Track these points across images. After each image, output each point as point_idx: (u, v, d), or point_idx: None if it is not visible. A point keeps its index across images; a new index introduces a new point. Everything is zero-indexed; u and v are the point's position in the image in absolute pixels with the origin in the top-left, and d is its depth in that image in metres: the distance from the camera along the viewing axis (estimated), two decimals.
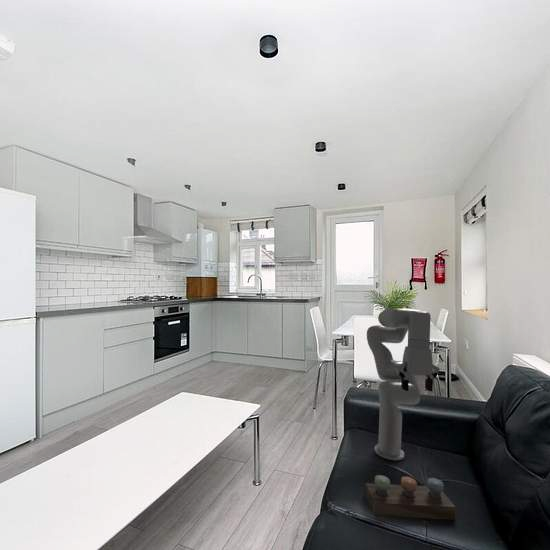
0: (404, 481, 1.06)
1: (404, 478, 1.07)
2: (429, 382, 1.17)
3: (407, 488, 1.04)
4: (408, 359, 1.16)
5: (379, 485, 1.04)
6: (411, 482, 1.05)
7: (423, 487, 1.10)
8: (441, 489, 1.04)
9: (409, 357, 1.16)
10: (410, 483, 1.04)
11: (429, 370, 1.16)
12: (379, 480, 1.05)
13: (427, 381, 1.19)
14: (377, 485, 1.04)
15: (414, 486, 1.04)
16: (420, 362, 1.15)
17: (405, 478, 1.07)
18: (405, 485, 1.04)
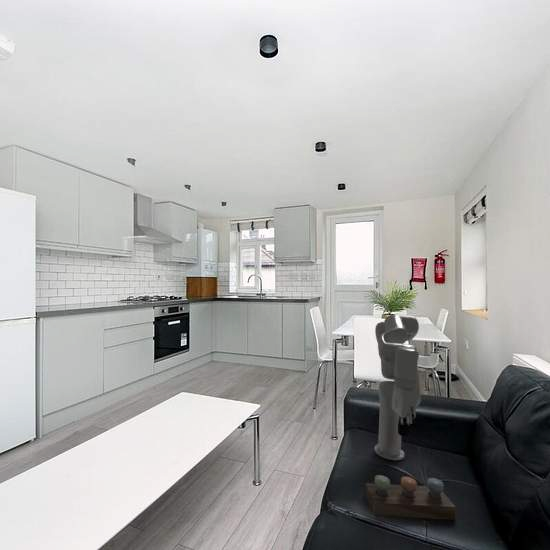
0: (404, 481, 1.06)
1: (404, 478, 1.07)
2: None
3: (407, 488, 1.04)
4: (414, 403, 1.08)
5: (379, 485, 1.04)
6: (411, 482, 1.05)
7: (423, 487, 1.10)
8: (441, 489, 1.04)
9: (415, 401, 1.08)
10: (410, 483, 1.04)
11: None
12: (379, 480, 1.05)
13: None
14: (377, 485, 1.04)
15: (414, 486, 1.04)
16: None
17: (405, 478, 1.07)
18: (405, 485, 1.04)
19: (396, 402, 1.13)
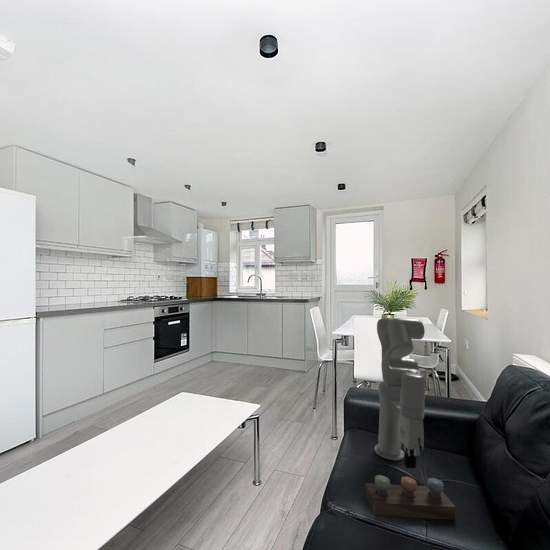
0: (404, 481, 1.06)
1: (404, 478, 1.07)
2: None
3: (407, 488, 1.04)
4: (422, 434, 1.02)
5: (379, 485, 1.04)
6: (411, 482, 1.05)
7: (423, 487, 1.10)
8: (441, 489, 1.04)
9: (423, 432, 1.02)
10: (410, 483, 1.04)
11: None
12: (379, 480, 1.05)
13: None
14: (377, 485, 1.04)
15: (414, 486, 1.04)
16: None
17: (405, 478, 1.07)
18: (405, 485, 1.04)
19: (402, 432, 1.06)
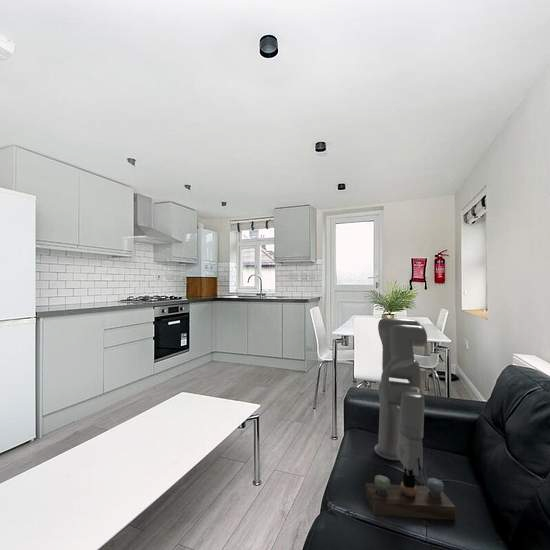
0: (403, 485, 1.06)
1: None
2: None
3: (407, 493, 1.04)
4: (421, 454, 1.01)
5: (379, 485, 1.04)
6: None
7: (423, 487, 1.10)
8: (441, 489, 1.04)
9: (422, 452, 1.02)
10: (410, 488, 1.04)
11: None
12: (379, 480, 1.05)
13: None
14: (377, 485, 1.04)
15: (414, 491, 1.04)
16: None
17: None
18: (405, 490, 1.04)
19: (401, 451, 1.06)
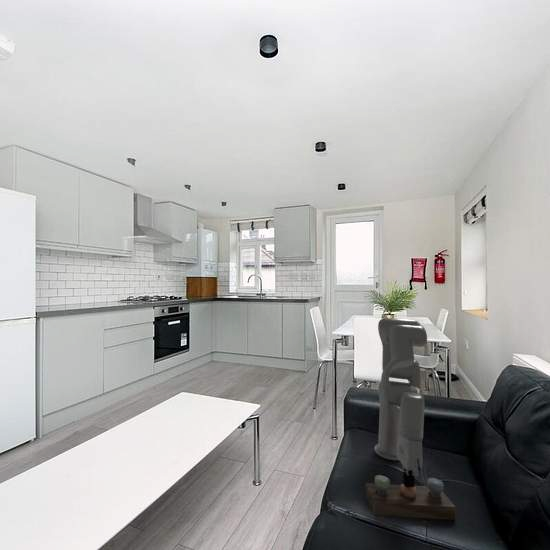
0: (403, 487, 1.05)
1: None
2: None
3: (407, 495, 1.04)
4: (421, 455, 1.02)
5: (379, 485, 1.04)
6: (411, 489, 1.05)
7: (423, 487, 1.10)
8: (441, 489, 1.04)
9: (421, 453, 1.02)
10: (410, 490, 1.04)
11: None
12: (379, 480, 1.05)
13: None
14: (377, 485, 1.04)
15: (414, 493, 1.04)
16: None
17: None
18: (405, 492, 1.04)
19: (401, 451, 1.07)
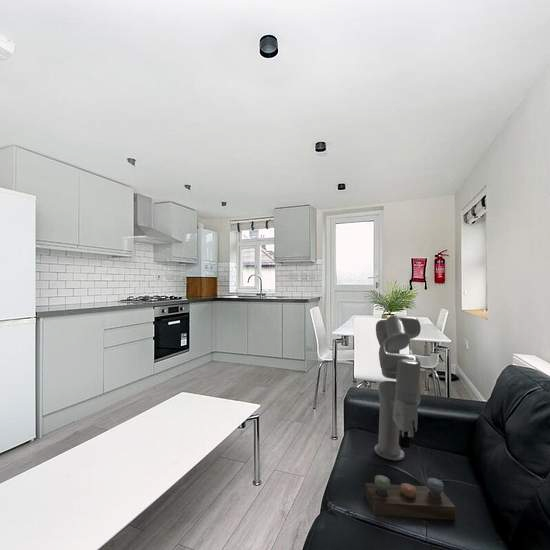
0: (403, 487, 1.05)
1: (404, 485, 1.07)
2: None
3: (407, 495, 1.04)
4: (416, 417, 1.07)
5: (379, 485, 1.04)
6: (411, 489, 1.05)
7: (423, 487, 1.10)
8: (441, 489, 1.04)
9: (417, 415, 1.07)
10: (410, 490, 1.04)
11: None
12: (379, 480, 1.05)
13: None
14: (377, 485, 1.04)
15: (414, 493, 1.04)
16: None
17: (405, 485, 1.07)
18: (405, 492, 1.04)
19: (397, 415, 1.11)
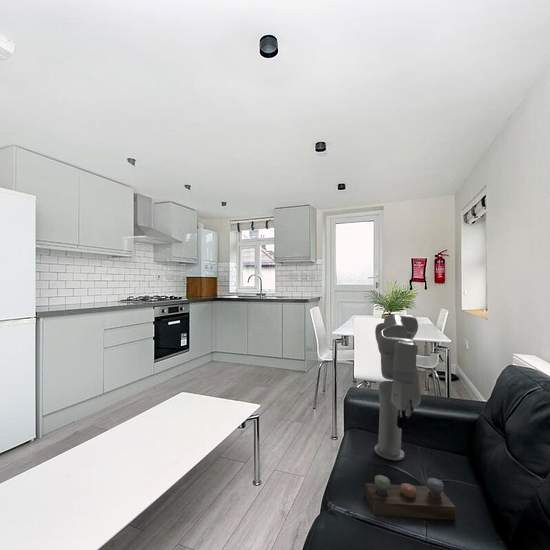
0: (403, 487, 1.05)
1: (404, 485, 1.07)
2: None
3: (407, 495, 1.04)
4: (413, 396, 1.09)
5: (379, 485, 1.04)
6: (411, 489, 1.05)
7: (423, 487, 1.10)
8: (441, 489, 1.04)
9: (414, 394, 1.09)
10: (410, 490, 1.04)
11: None
12: (379, 480, 1.05)
13: None
14: (377, 485, 1.04)
15: (414, 493, 1.04)
16: None
17: (405, 485, 1.07)
18: (405, 492, 1.04)
19: (395, 395, 1.14)
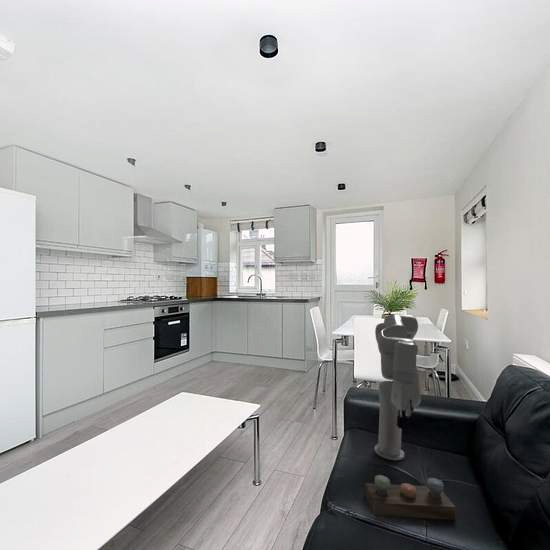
0: (403, 487, 1.05)
1: (404, 485, 1.07)
2: None
3: (407, 495, 1.04)
4: (413, 396, 1.09)
5: (379, 485, 1.04)
6: (411, 489, 1.05)
7: (423, 487, 1.10)
8: (441, 489, 1.04)
9: (414, 394, 1.09)
10: (410, 490, 1.04)
11: None
12: (379, 480, 1.05)
13: None
14: (377, 485, 1.04)
15: (414, 493, 1.04)
16: None
17: (405, 485, 1.07)
18: (405, 492, 1.04)
19: (395, 395, 1.14)
